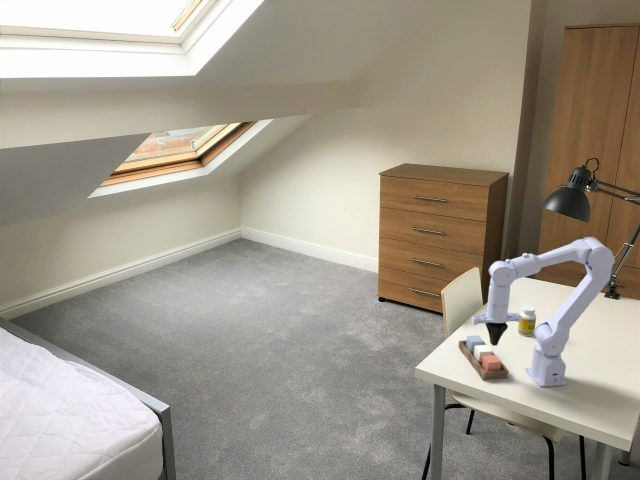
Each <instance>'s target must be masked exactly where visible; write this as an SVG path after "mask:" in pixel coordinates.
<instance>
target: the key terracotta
mask: <svg viewBox="0 0 640 480" xmlns="http://www.w3.org/2000/svg"><path fill="white" fill-rule="evenodd" d="M501 362H502V361H501V360H500V358H499V357H498V356H497V354H495V355H487V356H483V360H482V367H483V369H484V370H485V371H496V370H500V369H501Z"/></svg>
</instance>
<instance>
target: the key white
mask: <svg viewBox="0 0 640 480" xmlns="http://www.w3.org/2000/svg"><path fill="white" fill-rule="evenodd" d="M492 352H493V350H492V349H491V348H490V346H488V344H486V345H477V346H475V347H474V357H475V359H476V360H483V356H487V355H492Z"/></svg>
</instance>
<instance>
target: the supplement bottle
mask: <svg viewBox="0 0 640 480" xmlns="http://www.w3.org/2000/svg"><path fill="white" fill-rule="evenodd" d="M519 314H520V315H521V316H522V318H521V322H518V326H517V327H518V328H517V333H518V334H519V335H521V336H523V337H532V336H534V329H535V327H536V322H537V315H536V308H535V307H534V306H531V305H524V306H522V311H521V312H520V313H519Z"/></svg>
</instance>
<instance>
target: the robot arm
mask: <svg viewBox="0 0 640 480" xmlns="http://www.w3.org/2000/svg"><path fill="white" fill-rule="evenodd" d="M569 261H573V262H575V263H580V264H582V265H584V267H585V270H586V275H585V276H584V278H582V280H581V281H580V282H579V284H578V285H577V286H576V288H575V289H574V290H572V293H571V294H570V295H569V296H568V297H567V299H566V300H565V301H564V303H563V304H562V305H561V306H560V307H559V309H558V310H557V311H556V312H555V314H553V316H549V317H546V318H545V320H544V321H543V322H541V323H538V325H535V329H534V335H533V336H534V338H535V339H536V341H535V344H534V348H533V354H532V361H531V363H532V364H531V367H525V368H524V370H525V372H526V373H527V374H528V375H529V376H530V377H531V378H532V379H533V381H534V382H536V383H537V385H539V387H545V388H546V387H554V386H565V385H567V383H566V382H565V374H566V363H565V361H564V360H563V358H562V355H561V354H562V353H563V352H564V350H565V349H566V348H565V347H566V344H567V341H569V339H570V333H571V332H570V330H571V328H572V327H573V326H574V325H575V323H576V322H577V320H578V319H579V318H580V317H581V316H582V315H583V313H584V312H585V311H586V309H587V308H589V306H590V305H591V304H592V303H593V301H594V300H595V298H596V297H597V296H598V294H600V292H601V291H603V288H605V287H606V285H607V284H608V283H609V281H610V279H611V277H612V276H611V275H612V269H613V266H614V264H616V260H615V256H614V254H613V252H612V250H611V249H610V248H608V247H606V246H605V245H604V244H603V243H602V242H601V241H600V240H599V239H597V238H596V237H594V236H587V237H584V238H582V239H580V238H579V239H575V240H574V241H573V242H571V243H569V244H567V245H562V246H561V247H558V248H555V249H552V250H550V251H547V252H545V253H542V254H539V255H536V254H533V253H527V252H523V253H522V255H521V256H519V257H515V258H512V259H510V258H507V259H505V261H502V260H497V261H494V262H493V263H492V264H491V265H490V267H489V268H488V273H489V275H490V281H489V287H488V296H487V307H486V312H485V313H481V314H477V315H471V319H470V321H471V323H472V325H474V326H476V325H478V324H485V326H486V329H487V332H488V336H489V343H490V344H491V345H492V346H498V345H499V341H500V339H501V337H502V336H503V335H504V334H505V331H507V330H508V327H509V324H508V322H517V323H519V322H521V318H522V316H521V315H520V313H519V312H508V311H509V304H510V295H511V286H512V285H513V283H514V281H516V280H519V279H522V278H525V277H528V276H531V275H535V274H538V273H539V272H540V271H541V270H542V268H544V267H548V266H552V265H556V264H561V263H564V262H569Z"/></svg>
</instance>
